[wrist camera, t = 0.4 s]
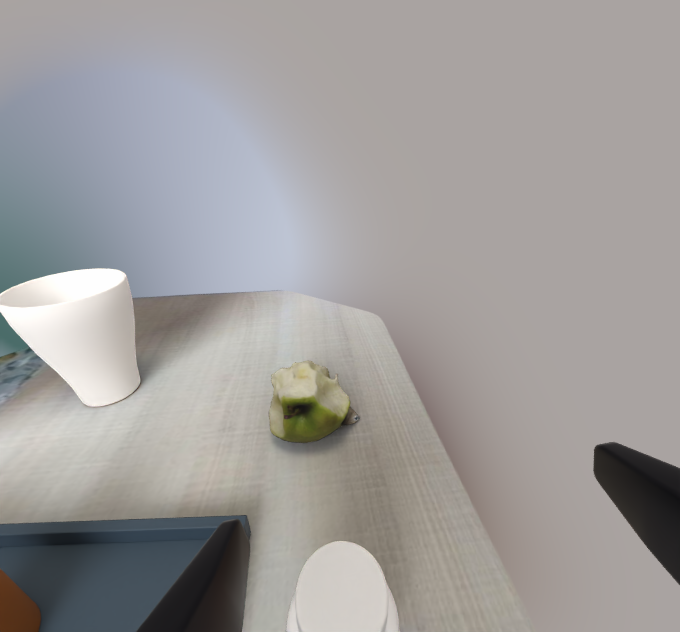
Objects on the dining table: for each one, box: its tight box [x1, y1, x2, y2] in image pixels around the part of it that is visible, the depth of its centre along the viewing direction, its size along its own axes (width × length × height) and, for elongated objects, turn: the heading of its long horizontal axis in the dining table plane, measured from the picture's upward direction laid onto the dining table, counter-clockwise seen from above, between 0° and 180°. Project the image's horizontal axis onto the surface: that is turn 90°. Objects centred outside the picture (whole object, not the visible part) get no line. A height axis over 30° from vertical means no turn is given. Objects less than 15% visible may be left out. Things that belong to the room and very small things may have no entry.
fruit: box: [269, 361, 360, 443], centre depth 32 cm, size 9×9×8 cm
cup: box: [0, 269, 141, 407], centre depth 35 cm, size 10×10×14 cm
